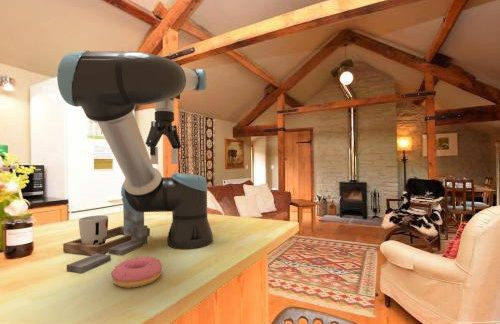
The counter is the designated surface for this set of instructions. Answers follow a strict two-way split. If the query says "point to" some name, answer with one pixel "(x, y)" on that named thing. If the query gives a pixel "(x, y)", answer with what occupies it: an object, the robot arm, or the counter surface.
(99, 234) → the cup
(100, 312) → the counter surface
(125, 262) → the doughnut
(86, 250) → the wooden serving tray
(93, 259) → the broken strip
